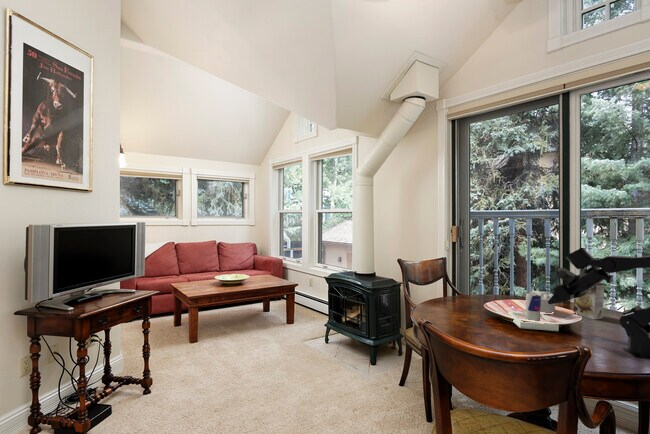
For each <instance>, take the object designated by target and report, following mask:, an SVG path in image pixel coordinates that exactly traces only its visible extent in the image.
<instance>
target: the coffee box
mask: <svg viewBox="0 0 650 434" xmlns="http://www.w3.org/2000/svg"><path fill="white" fill-rule="evenodd" d="M604 294H605V283H604V282H600V283H598V284H597V285H595V286H594V287H593V288H591V289H589V293H588V294H586V295H584V296H582V297H578V298H573V309H572V310H573V312H575V313H577V314H579V315H578V316H580V315H581V317H584V318H587V319H591V320H599V319H603V313H604V300H605V299H604V296H605V295H604ZM573 312H572V313H573ZM577 314H576V315H577Z"/></svg>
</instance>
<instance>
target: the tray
mask: <svg viewBox="0 0 650 434" xmlns="http://www.w3.org/2000/svg"><path fill="white" fill-rule="evenodd" d="M508 314H509V315H511V316H512V317H513V318H514V320H513V321H512V322H513V323H514V324H515V326H517V327H518V328H519V329H527V330H541V331H542V330H543V331H551V332H559V326H560V325H559V323H557V324H544V323H536V322H523V321H521V320H520V319H519V318H518V317H516V316H515V315H523V316H525V312H520V311H508ZM508 314H507V315H508ZM540 317H542V318H544V319H545V320H547V321H549V322H555V321H554V320H552V319H551V318H549V317H548V315H544V314H540Z"/></svg>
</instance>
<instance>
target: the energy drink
mask: <svg viewBox="0 0 650 434" xmlns="http://www.w3.org/2000/svg"><path fill="white" fill-rule="evenodd" d="M540 311H541V296H540V294H536V293H530V292H527V293H526V295H525V312H524V313H525V319H528V320H535V321H540Z"/></svg>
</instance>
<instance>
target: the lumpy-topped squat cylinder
mask: <svg viewBox="0 0 650 434" xmlns="http://www.w3.org/2000/svg"><path fill="white" fill-rule="evenodd" d="M529 293H536V294H540V296H541V311H540V312H545V313H552V312H555V313H556V303H555V304H548V301H549V300H550V298H551V297H552V296H553V295H554V293H548V292H546V291H539V290H534V291H531V292H529Z"/></svg>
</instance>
